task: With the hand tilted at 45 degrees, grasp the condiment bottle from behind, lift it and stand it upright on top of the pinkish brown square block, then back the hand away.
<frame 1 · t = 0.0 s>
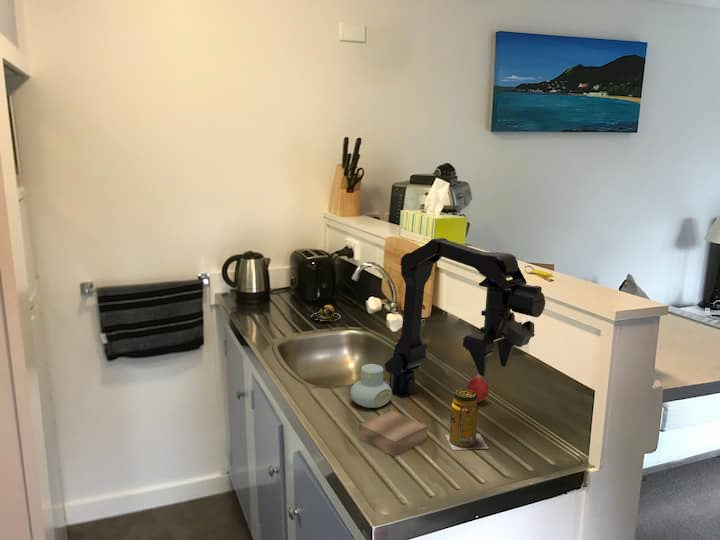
hand: (492, 370, 139), 15 cm above the worktop, tool pointing down, fingers open, 9 cm apart
condiment: (466, 443, 135), on the worktop
onion: (476, 403, 156), on the worktop
pinkish brown square block: (392, 441, 135), on the worktop
burger: (326, 320, 227), on the worktop
air freshener: (370, 404, 154), on the worktop
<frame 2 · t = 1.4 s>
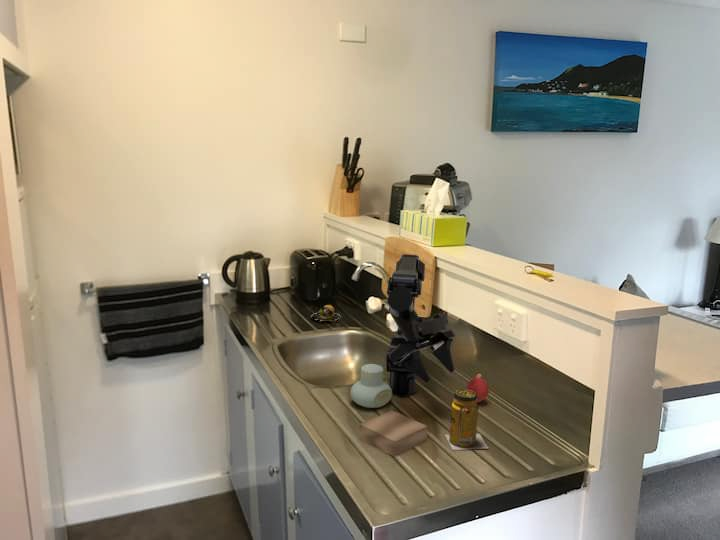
hand: (440, 376, 138), 13 cm above the worktop, tool tilted 45°, fingers open, 9 cm apart
nothing on the worktop moved.
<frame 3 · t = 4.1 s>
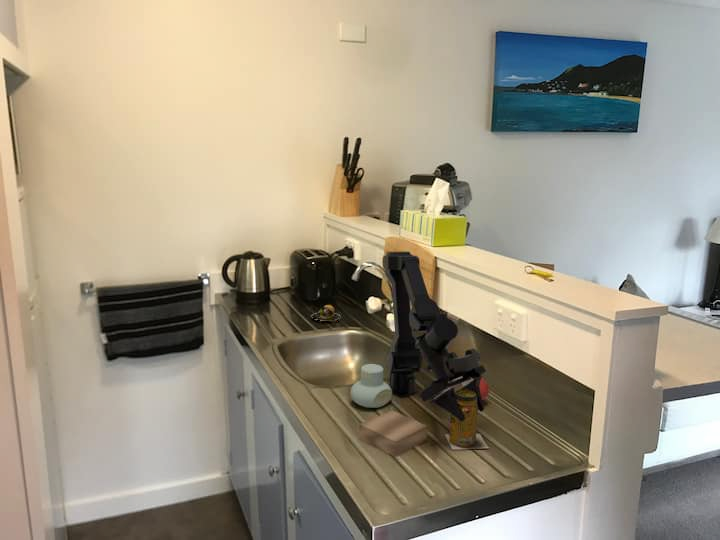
hand: (473, 415, 133), 7 cm above the worktop, tool tilted 45°, fingers open, 7 cm apart
condiment: (466, 442, 135), on the worktop, touching gripper
everything else where it was.
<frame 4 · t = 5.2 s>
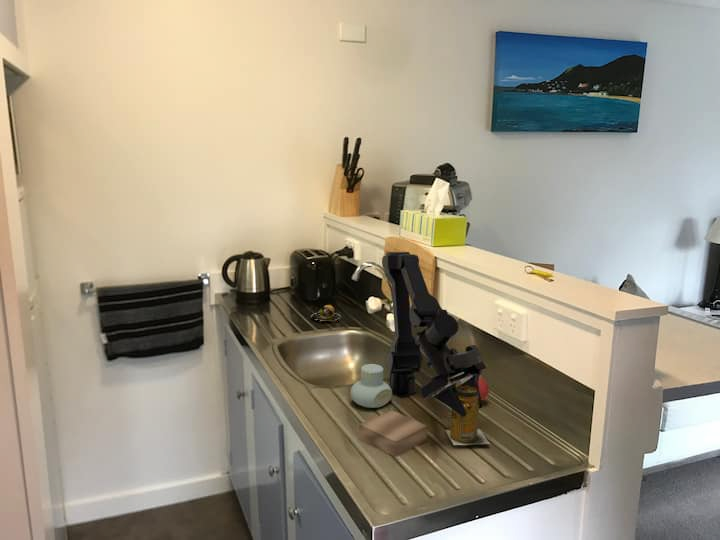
hand: (473, 411, 132), 8 cm above the worktop, tool tilted 45°, fingers closed on condiment, 6 cm apart
condiment: (466, 438, 135), point 1 cm above the worktop, touching gripper
everything else where it was.
when the fingers open (12 cm above the worktop, at t = 8.7 s): condiment drops 1 cm, point 3 cm above the worktop.
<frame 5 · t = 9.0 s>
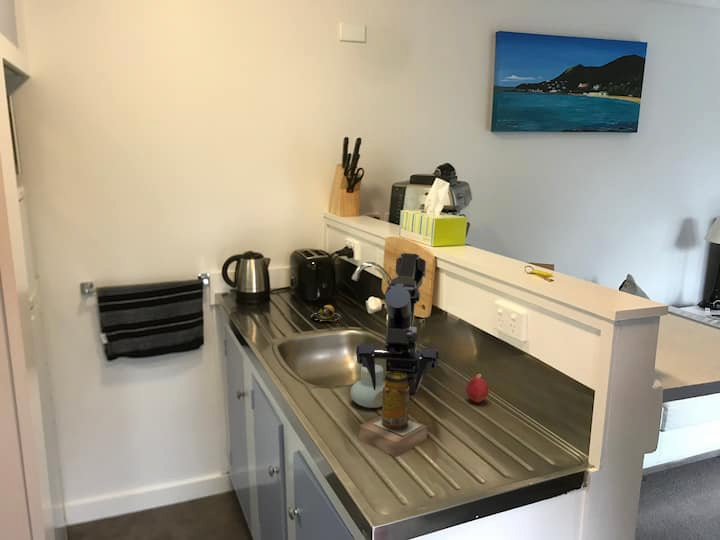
hand: (394, 390, 131), 13 cm above the worktop, tool tilted 45°, fingers open, 9 cm apart
condiment: (397, 426, 135), point 3 cm above the worktop
everything else where it was.
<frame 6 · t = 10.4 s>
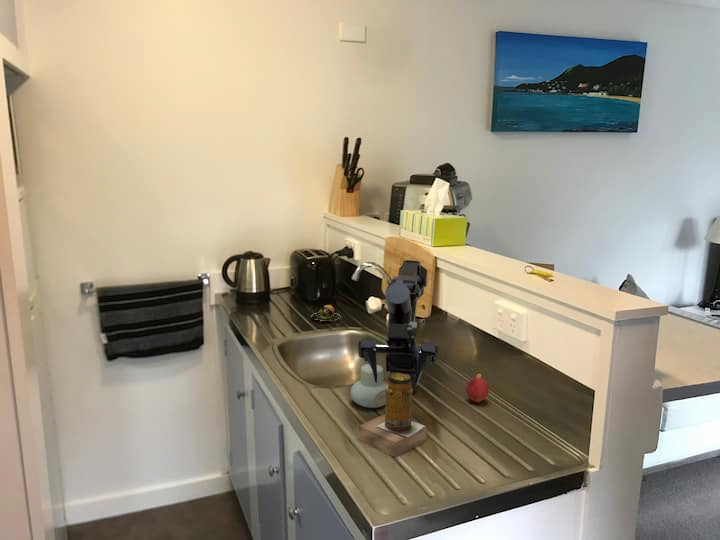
hand: (395, 384, 136), 12 cm above the worktop, tool tilted 45°, fingers open, 9 cm apart
condiment: (400, 427, 134), point 3 cm above the worktop, touching pinkish brown square block
pinkish brown square block: (392, 442, 135), on the worktop, touching condiment
everything else where it was.
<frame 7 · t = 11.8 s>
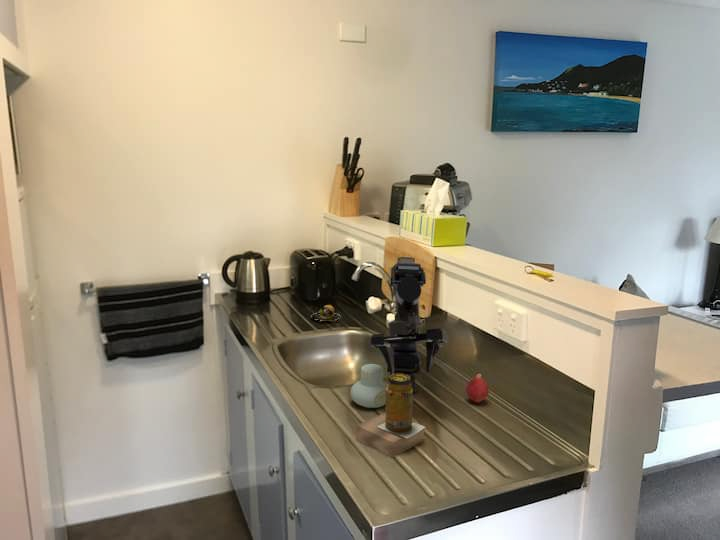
hand: (410, 373, 142), 12 cm above the worktop, tool tilted 30°, fingers open, 9 cm apart
nothing on the worktop moved.
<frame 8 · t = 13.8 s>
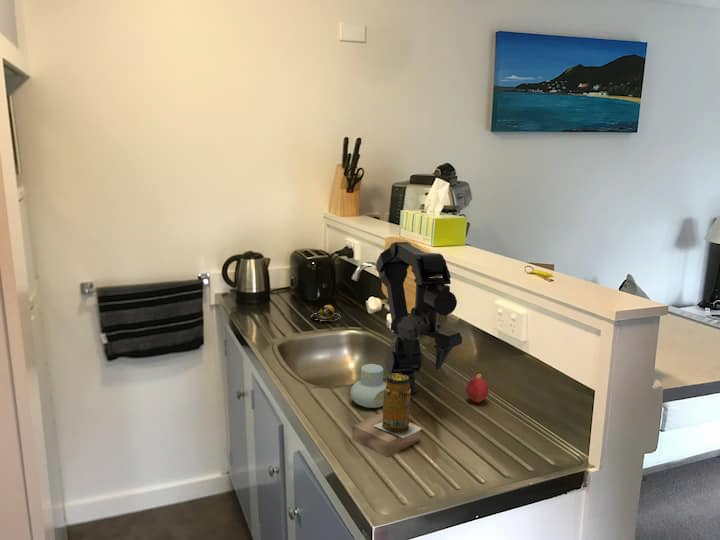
hand: (423, 364, 147), 13 cm above the worktop, tool pointing down, fingers open, 9 cm apart
at the end: condiment inside the target area on the pinkish brown square block (2.8 cm from its centre), point 3.8 cm above the pinkish brown square block's base; condiment tilted 0°; the gripper is holding nothing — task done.
